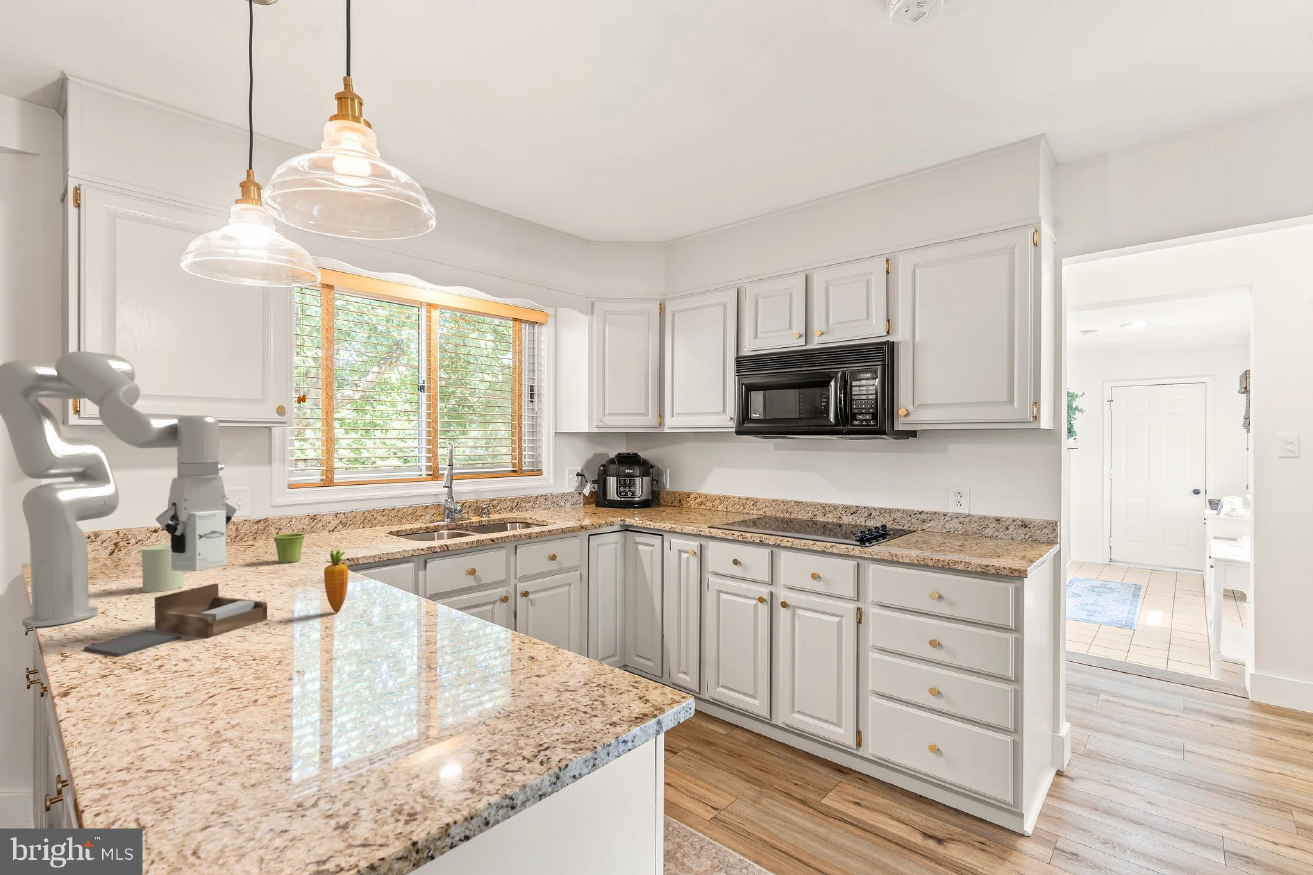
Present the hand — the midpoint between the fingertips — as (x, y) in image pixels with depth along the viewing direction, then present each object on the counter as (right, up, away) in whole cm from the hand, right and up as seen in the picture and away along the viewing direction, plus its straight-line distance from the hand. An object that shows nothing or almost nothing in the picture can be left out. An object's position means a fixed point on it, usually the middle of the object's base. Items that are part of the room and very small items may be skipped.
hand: (198, 548), depth 139 cm
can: (-34, -17, +33) cm, 50 cm away
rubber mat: (-3, -17, -13) cm, 22 cm away
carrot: (+28, -16, +7) cm, 33 cm away
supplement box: (0, -5, 0) cm, 5 cm away
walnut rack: (+4, -17, -1) cm, 17 cm away
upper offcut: (+9, -15, -3) cm, 17 cm away
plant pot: (-19, -16, +67) cm, 71 cm away
